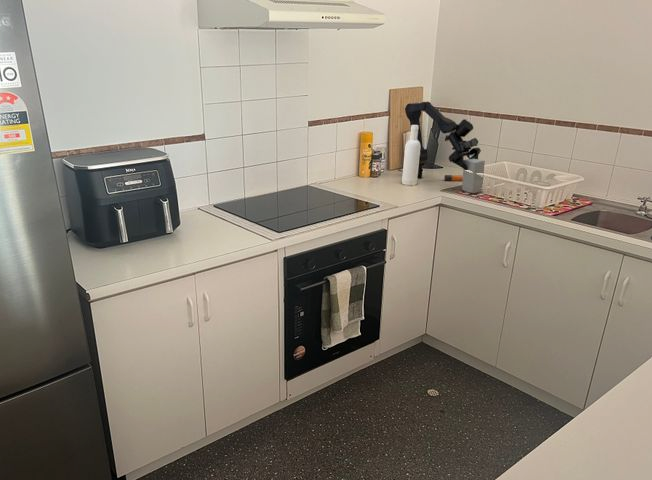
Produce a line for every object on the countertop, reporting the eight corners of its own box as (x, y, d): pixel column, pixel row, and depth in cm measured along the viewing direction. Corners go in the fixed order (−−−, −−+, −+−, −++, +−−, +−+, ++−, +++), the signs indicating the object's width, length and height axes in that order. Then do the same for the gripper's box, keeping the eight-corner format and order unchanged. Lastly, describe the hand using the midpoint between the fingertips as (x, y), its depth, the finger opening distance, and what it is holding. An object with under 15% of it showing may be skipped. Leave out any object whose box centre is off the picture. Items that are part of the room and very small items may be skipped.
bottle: (418, 185, 287) (424, 126, 275) (403, 185, 287) (408, 126, 275) (415, 181, 295) (421, 124, 283) (400, 181, 295) (405, 124, 283)
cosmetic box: (482, 192, 275) (487, 160, 269) (471, 194, 272) (475, 162, 266) (470, 188, 282) (474, 157, 276) (459, 189, 279) (463, 158, 273)
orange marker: (445, 181, 296) (446, 175, 295) (444, 179, 299) (444, 174, 298) (472, 181, 296) (473, 175, 295) (470, 180, 299) (471, 174, 298)
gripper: (456, 134, 265) (472, 161, 262) (480, 131, 276) (496, 156, 272) (441, 148, 274) (456, 174, 271) (465, 144, 285) (480, 169, 281)
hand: (473, 168), depth 273 cm, fingers open, 9 cm apart
